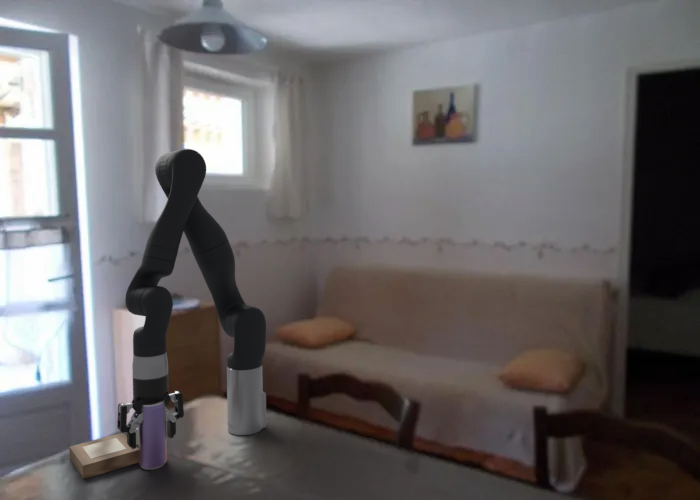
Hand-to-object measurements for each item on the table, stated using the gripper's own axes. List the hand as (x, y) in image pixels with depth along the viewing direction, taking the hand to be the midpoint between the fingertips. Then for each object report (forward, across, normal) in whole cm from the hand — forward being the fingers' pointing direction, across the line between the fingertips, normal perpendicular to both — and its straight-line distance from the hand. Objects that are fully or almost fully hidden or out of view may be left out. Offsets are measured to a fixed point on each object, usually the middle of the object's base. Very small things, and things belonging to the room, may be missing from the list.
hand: (152, 442), depth 121 cm
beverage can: (+5, 0, 0) cm, 5 cm away
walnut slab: (+5, +8, -9) cm, 13 cm away
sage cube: (+5, -3, -12) cm, 13 cm away
